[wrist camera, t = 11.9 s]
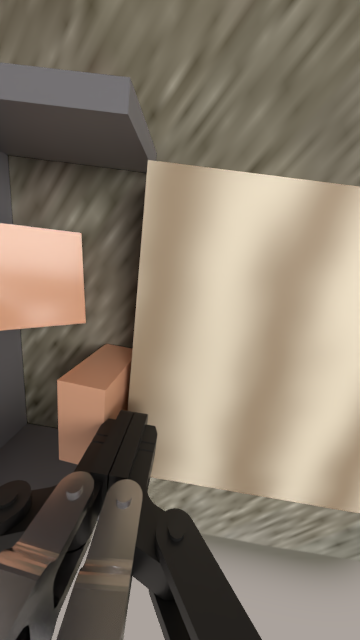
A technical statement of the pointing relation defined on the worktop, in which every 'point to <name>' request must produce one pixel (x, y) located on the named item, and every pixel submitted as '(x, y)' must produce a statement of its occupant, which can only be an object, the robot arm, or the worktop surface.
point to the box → (25, 141)
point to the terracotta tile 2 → (91, 398)
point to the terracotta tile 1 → (40, 277)
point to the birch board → (250, 333)
